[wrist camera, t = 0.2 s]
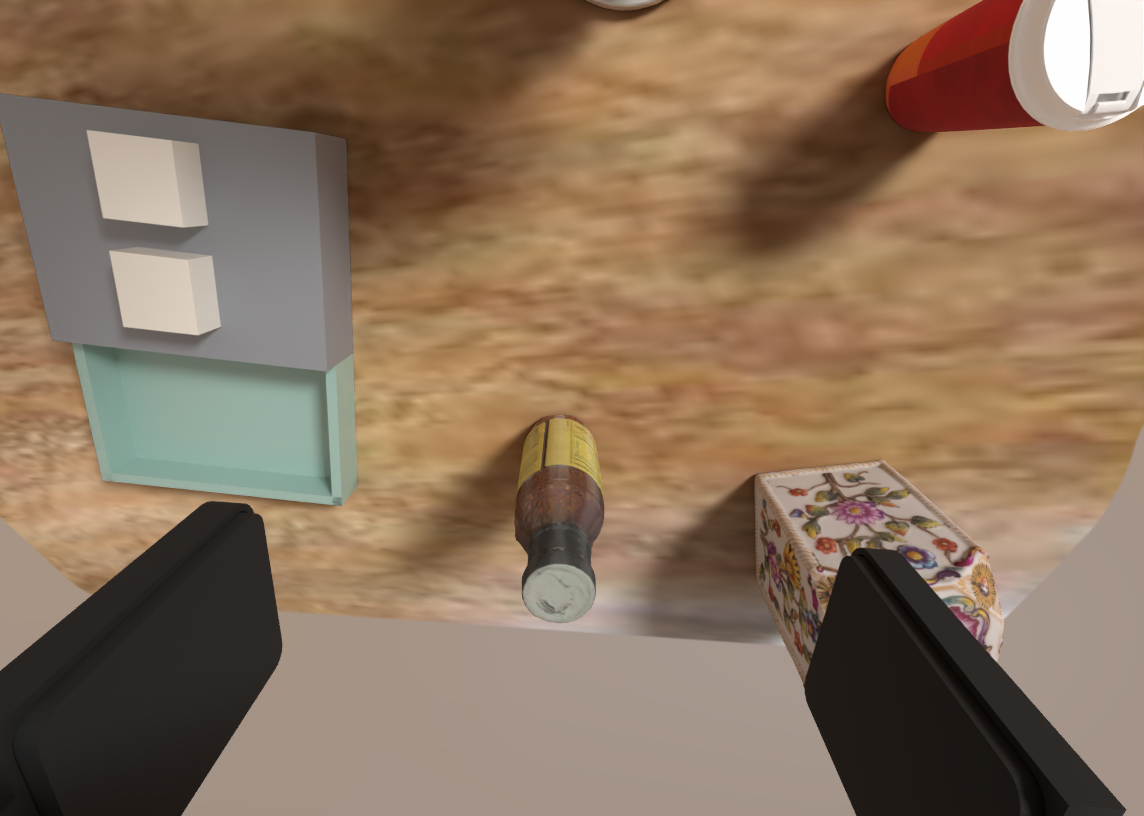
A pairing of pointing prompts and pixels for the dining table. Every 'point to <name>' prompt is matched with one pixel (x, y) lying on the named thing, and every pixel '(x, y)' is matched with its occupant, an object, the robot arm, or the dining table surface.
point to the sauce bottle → (559, 517)
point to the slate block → (193, 232)
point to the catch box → (221, 424)
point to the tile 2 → (166, 290)
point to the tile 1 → (148, 179)
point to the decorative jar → (852, 520)
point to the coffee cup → (1023, 67)
